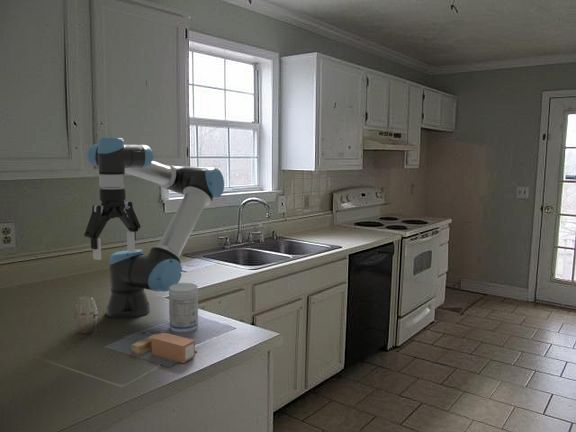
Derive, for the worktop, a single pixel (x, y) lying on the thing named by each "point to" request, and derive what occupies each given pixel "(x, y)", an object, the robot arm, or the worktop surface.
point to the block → (173, 347)
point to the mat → (125, 347)
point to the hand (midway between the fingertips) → (114, 255)
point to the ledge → (142, 346)
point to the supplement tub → (183, 307)
